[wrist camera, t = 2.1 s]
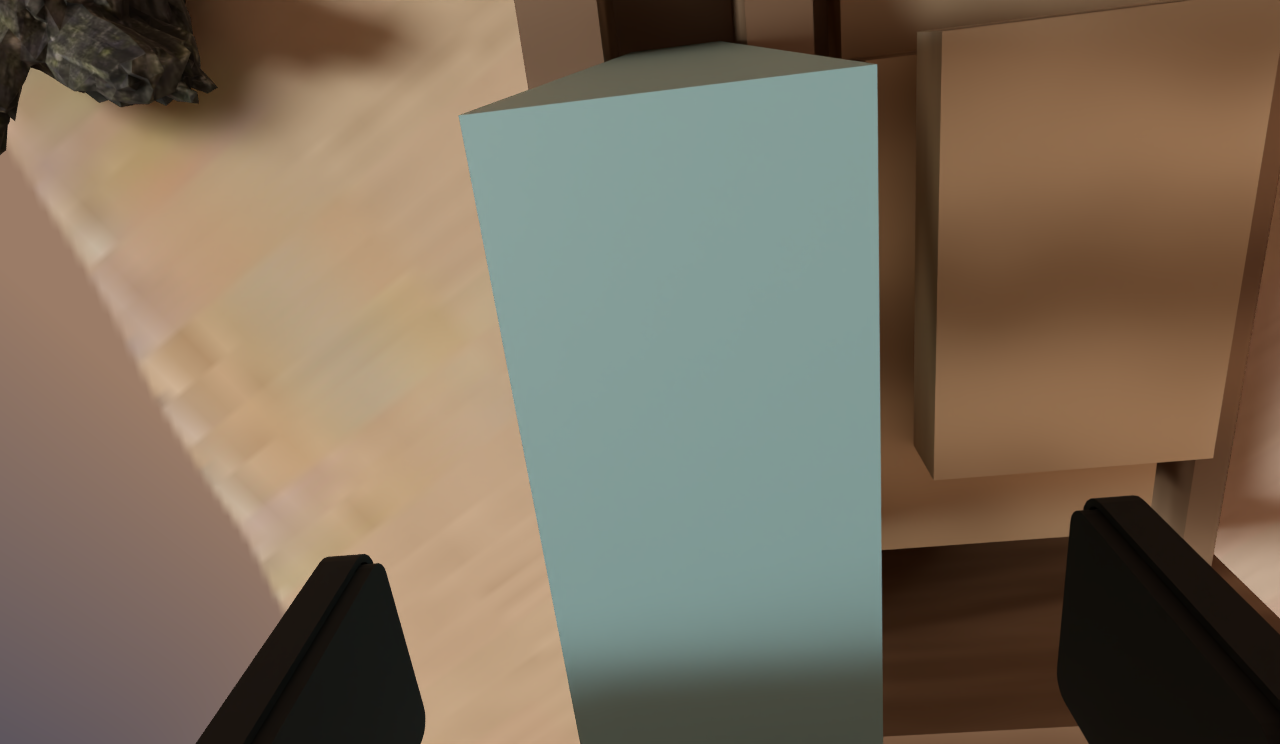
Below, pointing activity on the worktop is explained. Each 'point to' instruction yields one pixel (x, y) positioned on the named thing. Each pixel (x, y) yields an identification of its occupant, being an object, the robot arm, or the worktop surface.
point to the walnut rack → (952, 574)
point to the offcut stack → (1055, 246)
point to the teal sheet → (698, 384)
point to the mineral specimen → (100, 51)
